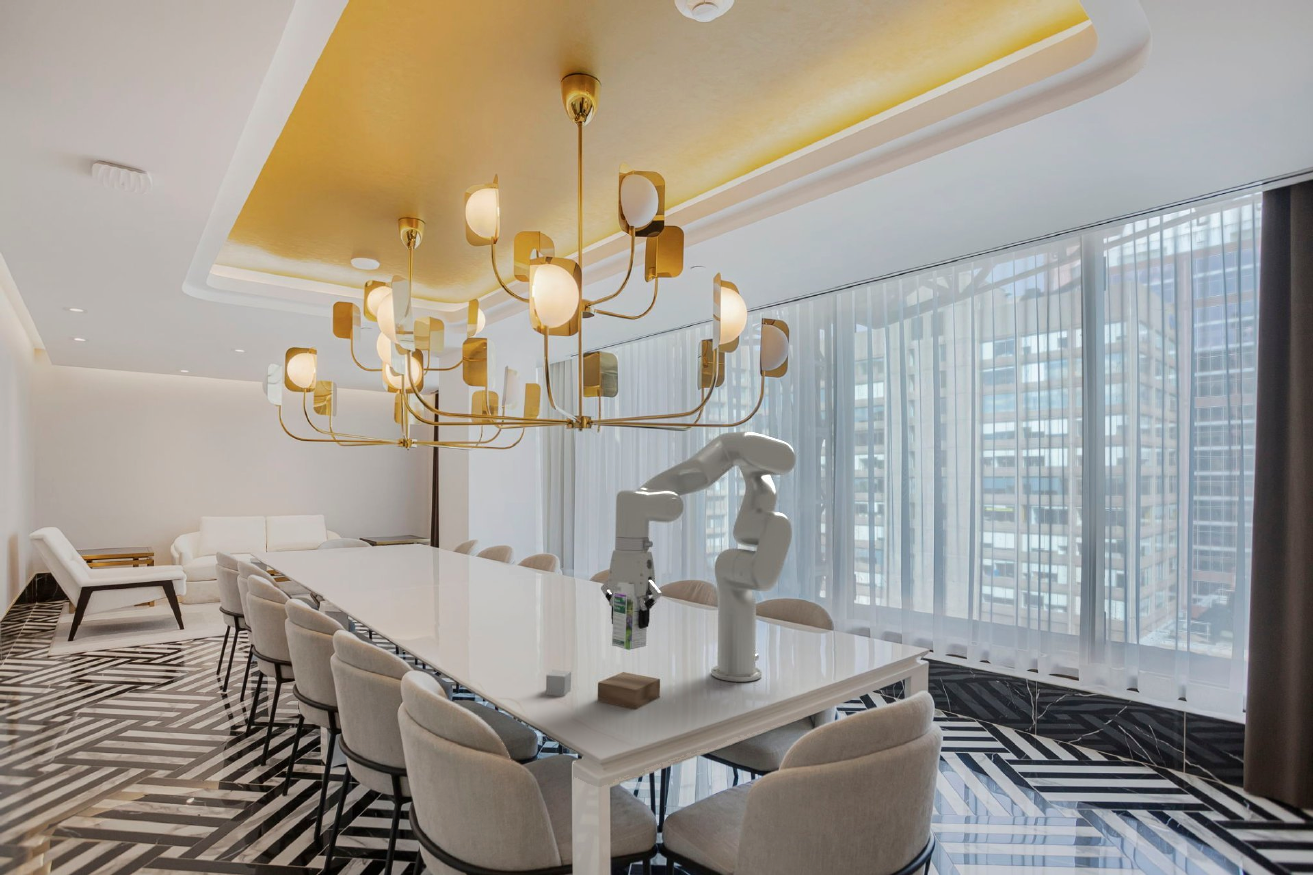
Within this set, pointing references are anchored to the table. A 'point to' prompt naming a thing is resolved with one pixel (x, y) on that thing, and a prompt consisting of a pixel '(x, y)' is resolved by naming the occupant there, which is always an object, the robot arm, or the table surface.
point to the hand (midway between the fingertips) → (630, 624)
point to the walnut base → (628, 690)
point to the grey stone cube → (558, 683)
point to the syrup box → (627, 618)
